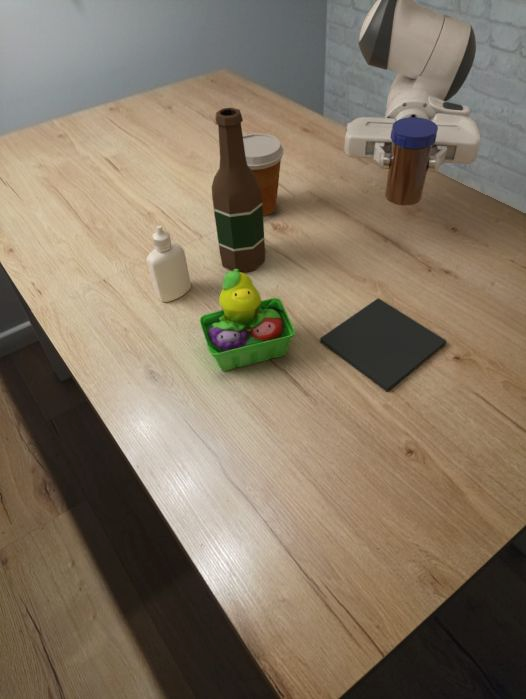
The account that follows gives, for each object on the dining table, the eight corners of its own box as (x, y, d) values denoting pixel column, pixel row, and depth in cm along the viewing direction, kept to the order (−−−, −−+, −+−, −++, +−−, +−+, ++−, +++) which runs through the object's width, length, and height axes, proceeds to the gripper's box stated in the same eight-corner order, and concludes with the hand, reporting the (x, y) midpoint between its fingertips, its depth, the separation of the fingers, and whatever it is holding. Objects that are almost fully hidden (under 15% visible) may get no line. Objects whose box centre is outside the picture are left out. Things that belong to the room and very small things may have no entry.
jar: (400, 182, 83) (411, 117, 76) (429, 195, 80) (443, 130, 73) (377, 195, 81) (386, 130, 73) (405, 210, 78) (417, 143, 70)
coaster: (377, 301, 76) (378, 297, 76) (445, 344, 70) (446, 340, 69) (319, 342, 71) (320, 338, 71) (387, 392, 65) (388, 388, 64)
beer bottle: (213, 271, 83) (190, 123, 66) (226, 243, 88) (209, 98, 71) (260, 277, 82) (249, 126, 64) (271, 247, 87) (264, 100, 69)
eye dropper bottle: (155, 286, 81) (137, 221, 73) (190, 280, 82) (177, 215, 73) (156, 304, 78) (138, 239, 70) (193, 298, 79) (180, 232, 70)
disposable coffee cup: (255, 228, 91) (250, 164, 82) (223, 207, 96) (215, 144, 87) (295, 207, 95) (295, 144, 86) (262, 188, 100) (259, 126, 91)
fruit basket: (215, 381, 68) (203, 319, 59) (201, 335, 73) (189, 273, 65) (297, 360, 69) (297, 297, 61) (277, 317, 75) (275, 254, 67)
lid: (409, 124, 77) (411, 113, 76) (444, 138, 73) (447, 126, 72) (381, 138, 74) (383, 127, 73) (416, 153, 71) (418, 141, 70)
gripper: (349, 101, 84) (339, 141, 75) (480, 107, 81) (486, 149, 72) (346, 139, 89) (337, 180, 80) (470, 145, 85) (475, 189, 77)
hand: (409, 165), depth 76 cm, fingers closed on jar, 5 cm apart
